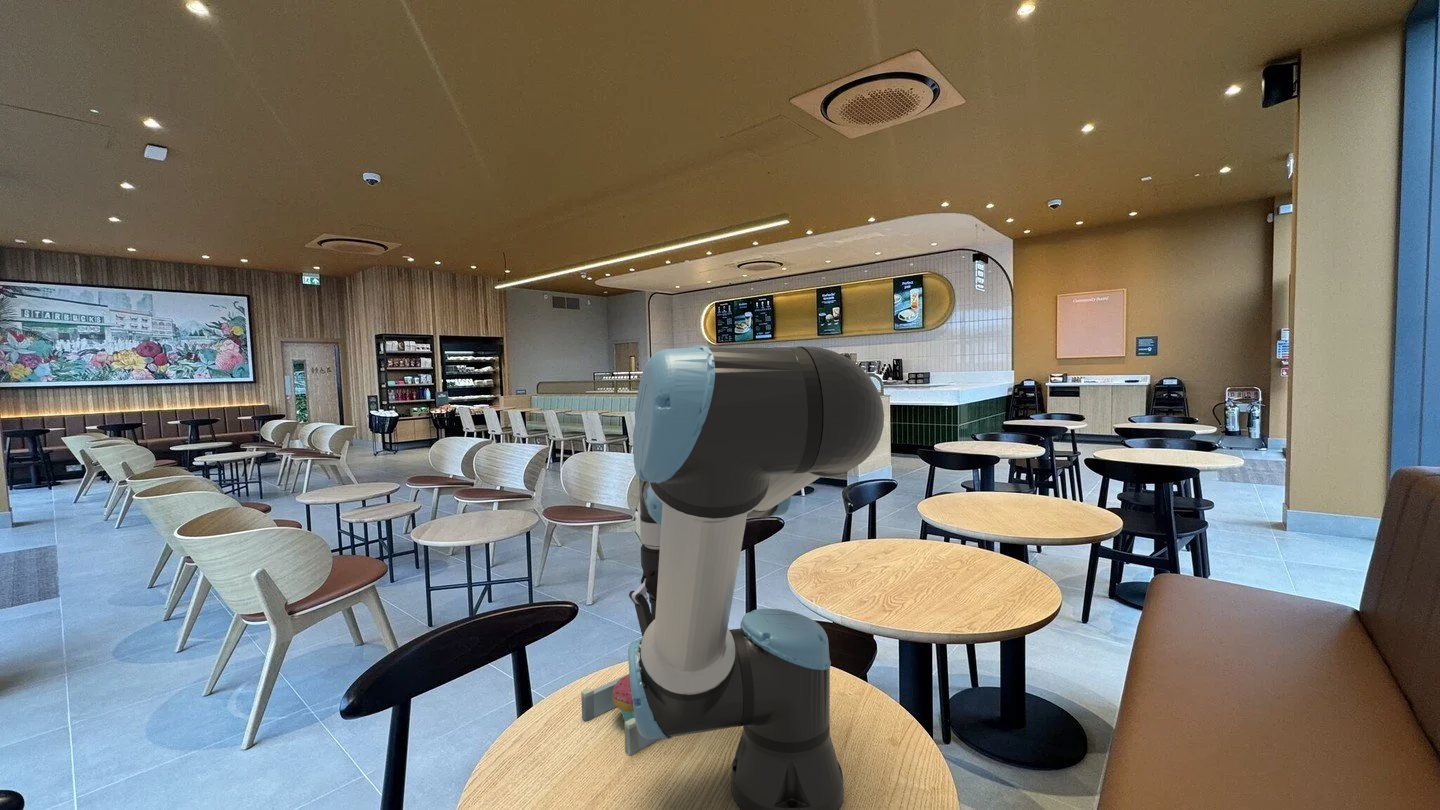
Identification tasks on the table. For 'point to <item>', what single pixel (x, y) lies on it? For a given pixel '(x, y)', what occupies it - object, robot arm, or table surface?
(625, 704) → the cupcake
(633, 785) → the table surface
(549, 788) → the table surface
